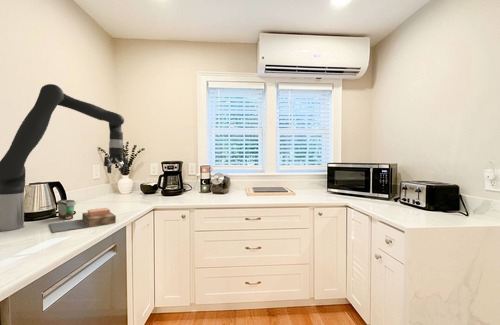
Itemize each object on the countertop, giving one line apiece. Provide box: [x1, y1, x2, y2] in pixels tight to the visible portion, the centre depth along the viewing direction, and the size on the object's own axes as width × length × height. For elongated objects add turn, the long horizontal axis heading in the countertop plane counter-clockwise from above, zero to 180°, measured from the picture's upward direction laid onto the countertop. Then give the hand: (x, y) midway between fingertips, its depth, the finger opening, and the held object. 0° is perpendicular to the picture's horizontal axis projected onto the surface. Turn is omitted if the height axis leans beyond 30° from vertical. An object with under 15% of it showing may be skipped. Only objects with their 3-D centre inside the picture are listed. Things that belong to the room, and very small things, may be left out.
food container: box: [57, 199, 77, 221], centre depth 132 cm, size 12×6×10 cm, turn 59°
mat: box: [48, 218, 89, 234], centre depth 117 cm, size 14×18×1 cm
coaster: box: [87, 207, 111, 217], centre depth 126 cm, size 9×7×2 cm
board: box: [81, 211, 117, 228], centre depth 126 cm, size 12×18×4 cm, turn 45°
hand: (115, 173), depth 140 cm, fingers open, 8 cm apart
